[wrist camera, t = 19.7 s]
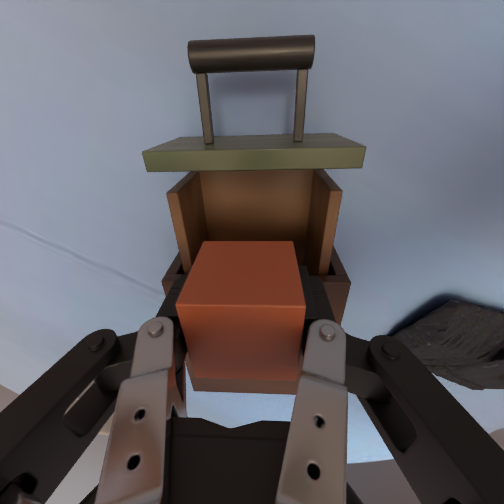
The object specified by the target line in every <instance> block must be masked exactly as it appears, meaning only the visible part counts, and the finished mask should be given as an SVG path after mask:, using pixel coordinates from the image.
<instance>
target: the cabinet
mask: <svg viewBox="0 0 504 504" xmlns="http://www.w3.org/2000/svg"><path fill="white" fill-rule="evenodd" d="M181 274H184V270H183V265H182V261H181V257H180V252H178V254H177V256H176V257H175V259H174V261H173V262H172V264H171V266H170V267H169V269H168V271H167V273H166V274H165V276H164V277H163V279H162V281H161V282H162V285H163V288H164V292H165V295H166V296H167V295H168V292H169V290H170V289H171V286H172V284H173V282H174V280H176V279H177V278H178V277H179V276H180V275H181ZM309 276H318V278H319V279H320V280H321V281H322V282H323V284H324V287H325V291H326V293H327V297H328V299H329V302H330V305H331V308H332V311H333V314H334V317H335V320H336V323H337V324H339V325H341V321H342V317H343V313H344V309H345V305H346V301H347V297H348V293H349V289H350V285H351V281H350V279H349V277H348V276H347V273H346V271H345V269H344V267H343V265H342V263H341V261H340V259H339V257H338V254H337V252H336V250H335V248H334V246H333V248H332V253H331V259H330V265H329V270H328V275H309ZM185 363H186V366H187V369H188V373H189V376H190V380H191V383H192V386H193V390H194V391H206V392H234V393H263V394H291V395H296V392H297V387H298V382H299V377H300V372H301V369H302V364H303V356H300V357H299V365H298V373H297V379H296V381H285V380H253V379H222V378H196V377H195V375H194V372H193V368H192V364H191V360H190V357H189V353H188V352H187V354H186V357H185Z"/></svg>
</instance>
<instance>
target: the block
mask: <svg viewBox="0 0 504 504" xmlns="http://www.w3.org/2000/svg"><path fill="white" fill-rule="evenodd" d="M175 305H176V309H177V313H178V316H179V320H180V324H181V327H182V331H183V335H184V338H185V342H186V346H187V349H188V353H189V357H190V360H191V364H192V368H193V372H194V375H195V377H196V378H222V379H253V380H285V381H296V379H297V373H298V365H299V357H300V350H301V342H302V334H303V327H304V319H305V311H306V303H305V298H304V293H303V289H302V284H301V279H300V274H299V269H298V264H297V259H296V254H295V249H294V244H293V241H204V242H203V244H202V246H201V248H200V251H199V253H198V255H197V257H196V260H195V262H194V264H193V266H192V268H191V271H190V273H189V275H188V277H187V280H186V282H185V284H184V286H183V288H182V291H181V293H180V295H179V297H178V300H177V302H176V304H175Z"/></svg>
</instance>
